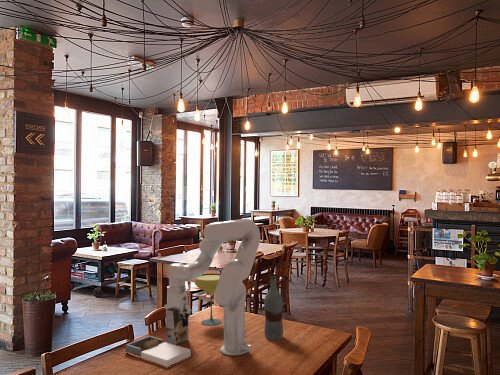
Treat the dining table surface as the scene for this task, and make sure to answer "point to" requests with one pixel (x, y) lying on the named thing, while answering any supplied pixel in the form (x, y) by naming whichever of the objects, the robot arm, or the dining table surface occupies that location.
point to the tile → (149, 344)
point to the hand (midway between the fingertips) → (177, 324)
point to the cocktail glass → (209, 285)
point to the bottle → (273, 312)
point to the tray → (134, 346)
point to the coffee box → (175, 327)
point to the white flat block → (166, 354)
